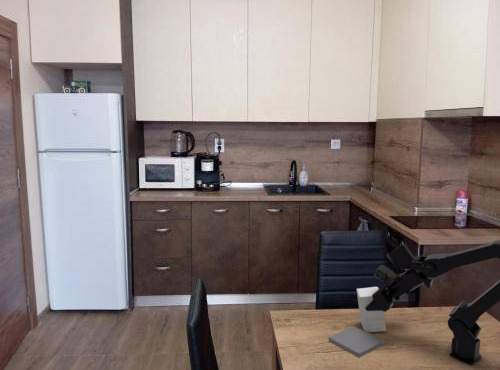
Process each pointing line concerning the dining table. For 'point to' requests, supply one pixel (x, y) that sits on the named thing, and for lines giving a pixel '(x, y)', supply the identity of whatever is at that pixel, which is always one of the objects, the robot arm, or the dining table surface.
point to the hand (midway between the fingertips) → (371, 304)
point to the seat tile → (356, 341)
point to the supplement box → (370, 319)
